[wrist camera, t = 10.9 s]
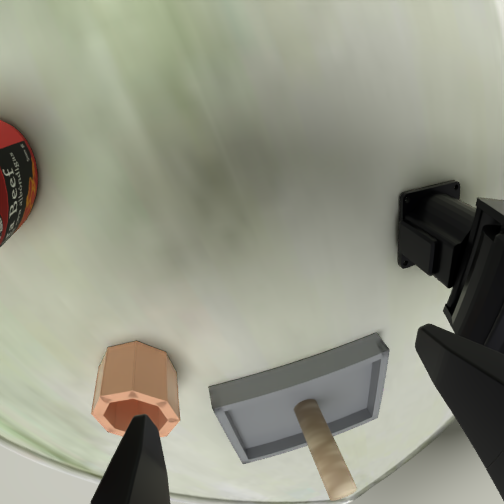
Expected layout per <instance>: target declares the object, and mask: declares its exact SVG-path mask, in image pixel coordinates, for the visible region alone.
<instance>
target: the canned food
mask: <svg viewBox="0 0 504 504" xmlns="http://www.w3.org/2000/svg"><path fill="white" fill-rule="evenodd" d="M37 185H38V172H37V167H36V161H35V158H34V155H33V152H32V149H31V148H30V146H29V144H28V142H27V140H26V139H25V138H24V136H23V135H22V134H21V133H20V132H19V131H18V130H17V129H16V128H14V127H13V126H12V125H10V124H8V123H6V122H4V121H2V120H0V247H1V246H2V245H3V244H4V243H5V242H6V241H7V240H8V239H9V238H10V237H11V236H12V235H13V234H14V233H15V232H16V231H17V230H18V229H19V228H20V227H21V225H22V224H23V223H24V222H25V221H26V219H27V217H28V215H29V214H30V212H31V209H32V206H33V203H34V200H35V197H36V193H37Z"/></svg>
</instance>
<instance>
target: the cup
mask: <svg viewBox="0 0 504 504" xmlns="http://www.w3.org/2000/svg"><path fill="white" fill-rule="evenodd" d="M91 414H92V415H93V416H94V417H95V418H96V419H97V421H98V422H99V423H100V424H101V425H102V426H103V427H104V428H105V429H106V430H107V432H110V433H113V434H116V435H120V436H124V434H125V432H126V430H127V428H128V426H129V424H130V422H131V420H132V418H133V417H134V416H135V415H140V414H147V415H148V416H149V418H150V419H151V420H152V421H153V423H154V424H155V425H156V427H157V428H158V431H159V435H160V437H164V436H167V435H168V434H169V433H170V432H171V430H172V429H173V428H174V427H175V426H176V425H177V423H178V422H179V421H180V411H179V399H178V385H177V372H176V371H175V369H174V367H173V365H172V363H171V361H170V359H169V357H168V355H167V353H166V352H164V351H162V350H159V349H156V348H154V347H151V346H148V345H146V344H143V343H141V342H138V341H134V342H130V343H125V344H121V345H117V346H112V347H108V348H107V351H106V353H105V355H104V357H103V360H102V362H101V364H100V366H99V369H98V374H97V380H96V386H95V392H94V399H93V405H92V412H91Z"/></svg>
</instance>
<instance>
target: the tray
mask: <svg viewBox="0 0 504 504" xmlns="http://www.w3.org/2000/svg"><path fill="white" fill-rule="evenodd" d="M389 350H390V349H389V348H388V347H387V345H386V344H385V343H384V342H383V340H382V339H381V338H380V336H379V335H378V334H377V333H374V334H372V335H369V336H367V337H364V338H362V339H359V340H356V341H354V342H351V343H349V344H346V345H343V346H341V347H338V348H335V349H332V350H330V351H327V352H324V353H321V354H318V355H315V356H312V357H309V358H306V359H303V360H300V361H297V362H294V363H291V364H288V365H285V366H282V367H279V368H275V369H272V370H269V371H265V372H262V373H259V374H255V375H252V376H248V377H244V378H241V379H237V380H234V381H230V382H226V383H222V384H218V385H214V386H210V387H209V392H210V398H211V404H212V409H213V411H214V413H215V415H216V417H217V419H218V421H219V422H220V424H221V426H222V428H223V430H224V432H225V433H226V435H227V437H228V439H229V441H230V442H231V444H232V446H233V448H234V450H235V451H236V453H237V455H238V457H239V458H240V460H241V462H242V463H243V464H246V463H250V462H253V461H257V460H261V459H265V458H268V457H272V456H275V455H279V454H282V453H286V452H289V451H292V450H295V449H298V448H301V447H304V446H307V445H308V444H307V442H306V439H305V437H304V434H303V432H302V429H301V427H300V424H299V422H298V420H297V417H296V415H295V412H294V407H295V406H296V405H297V404H298V403H299V402H301V401H303V400H307V399H314V400H316V402H317V404H318V406H319V408H320V410H321V412H322V414H323V416H324V419H325V421H326V423H327V425H328V427H329V429H330V431H331V434H332V436H335V435H338V434H340V433H343V432H345V431H348V430H350V429H353V428H355V427H358V426H360V425H362V424H365V423H367V422H369V421H372V420H374V419H376V418H378V414H379V409H380V404H381V399H382V394H383V388H384V382H385V377H386V370H387V364H388V357H389Z"/></svg>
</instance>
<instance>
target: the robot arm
mask: <svg viewBox="0 0 504 504" xmlns="http://www.w3.org/2000/svg"><path fill="white" fill-rule="evenodd" d="M454 187H455V188H454ZM406 197H407V200H406V201H405V199H406ZM459 198H460V184H459V182H457V181H455V180H453V181H449V182H444V183H440V184H436V185H432V186H428V187H423V188H419V189H415V190H411V191H407V192H404V193H402V194H401V196H400V223H399V259H398V264H399V266H400V267H402V268H403V269H404V268H408V267H410V266H413V265H417V266H418V267H419V268H420V269H421V270H423V271H424V272H425V273H426V274H428V275H429V276H432V275H433V276H434V277H435V278H437V279H438V280H439V281H440V282H441V283H443V284H444V285H445V286H446V287H447V288H451V287H453V288H452V291H451V294H450V297H449V299H448V302H447V304H445V307H444V309H443V312H444V314H445V316H446V317H447V319H448V321H449V323H450V325H451V327H452V329H453V330H454V332H455V334H454V333H452V332H449V331H447V330H444V329H442V328H440V327H437V326H435V325H432V324H426V325H424V326H421V327H420V328H419V329H418V332H417V337H416V342H415V348H416V351H417V353H418V355H419V357H420V359H421V360H422V362H423V364H424V366H425V368H426V370H427V372H428V374H429V376H430V378H431V380H432V382H433V383H434V385H435V387H436V388H437V390H438V391H439V393H440V394H441V396H442V398H443V399H444V401H445V402H446V404H447V405H448V407H449V408H450V410H451V411H452V413H453V415H454V416H455V418H456V419H457V421H458V422H459V424H460V426H461V427H462V429H463V431H464V432H465V434H466V435H467V437H468V439H469V440H470V442H471V444H472V445H473V447H474V449H475V450H476V452H477V454H478V455H479V457H480V459H481V461H482V462H483V464H484V466H485V467H486V468H487V469H486V470H487V471H488V473H489V475H490V477H491V479H492V480H493V482H494V484H495V486H496V488H497V489H498V491H499V493H500V495H501V497H502V499H503V501H504V200H496V199H488V198H479V197H478V198H477V202H476V206H477V207H476V208H474V207H472V206H470V205H468V204H466V203H464V202H462V201H460V200H459ZM404 261H405V262H404ZM91 504H170V496H169V486H168V477H167V470H166V465H165V461H164V456H163V451H162V446H161V440H160V435H159V431H158V428H157V427H156V425H155V424H154V423H153V421H152V420H151V419H150V418H149V416H148V415H147V414H140V415H135V416H134V417H133V418H132V420H131V422H130V424H129V426H128V428H127V430H126V432H125V434H124V436H123V438H122V440H121V442H120V444H119V445H118V447H117V449H116V451H115V453H114V455H113V457H112V459H111V461H110V463H109V465H108V467H107V470H106V472H105V474H104V476H103V478H102V480H101V482H100V484H99V486H98V488H97V490H96V492H95V494H94V496H93V498H92V500H91Z"/></svg>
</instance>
